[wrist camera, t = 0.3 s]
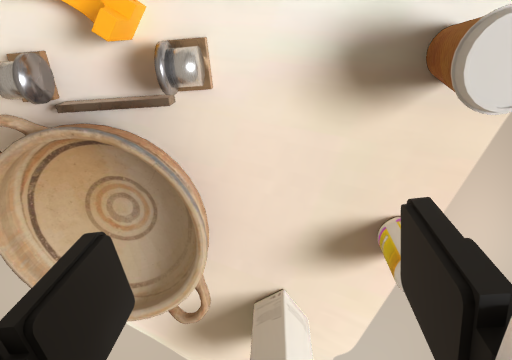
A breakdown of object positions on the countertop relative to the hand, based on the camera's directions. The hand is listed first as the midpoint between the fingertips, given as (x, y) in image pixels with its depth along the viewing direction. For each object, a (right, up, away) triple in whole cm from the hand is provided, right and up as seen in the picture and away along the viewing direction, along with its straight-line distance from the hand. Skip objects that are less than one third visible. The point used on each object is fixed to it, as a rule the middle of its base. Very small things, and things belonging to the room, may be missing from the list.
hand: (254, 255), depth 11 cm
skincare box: (+5, -20, +48) cm, 52 cm away
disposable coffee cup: (+23, +17, +30) cm, 42 cm away
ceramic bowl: (-19, -1, +41) cm, 46 cm away
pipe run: (-18, +17, +33) cm, 42 cm away
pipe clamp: (-19, +25, +30) cm, 43 cm away
